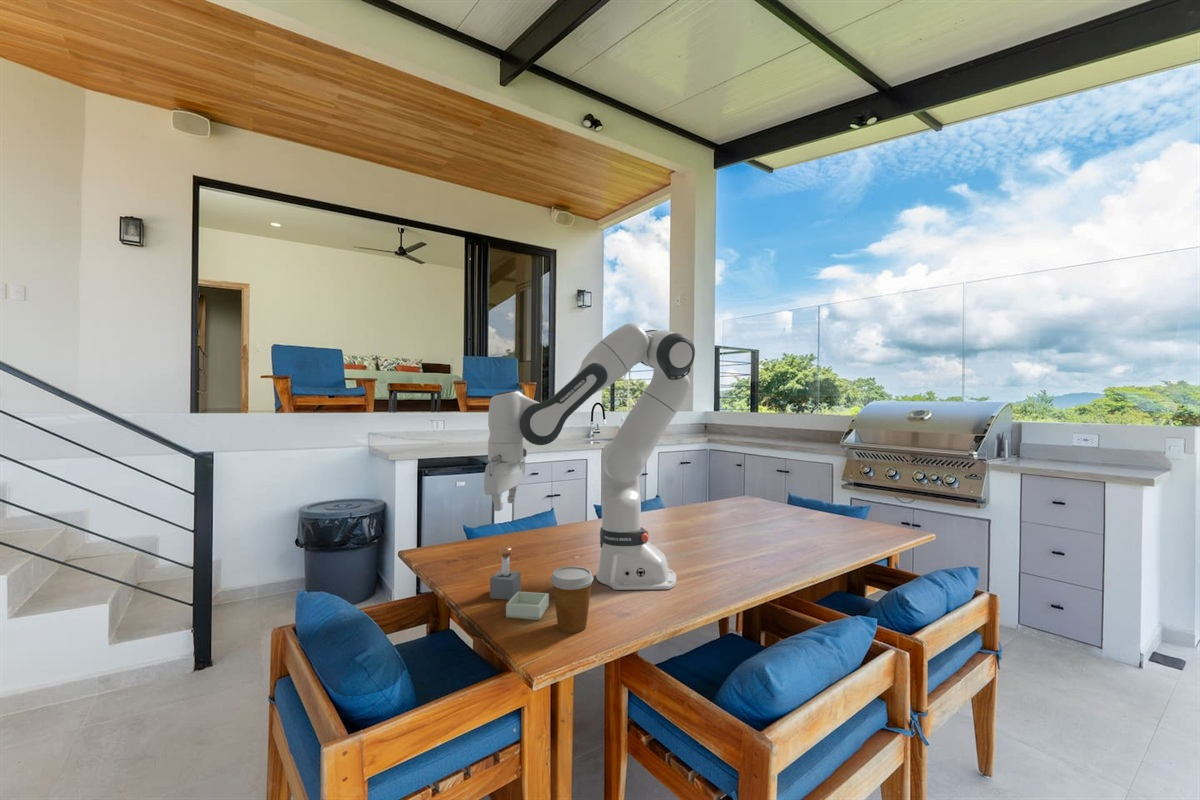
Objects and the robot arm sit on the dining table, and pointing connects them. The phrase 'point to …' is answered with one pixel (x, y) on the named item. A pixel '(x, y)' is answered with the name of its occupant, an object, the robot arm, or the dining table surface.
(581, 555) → the dining table surface
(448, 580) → the dining table surface
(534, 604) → the tray
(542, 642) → the dining table surface
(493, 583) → the pin block
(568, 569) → the disposable coffee cup
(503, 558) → the pin
